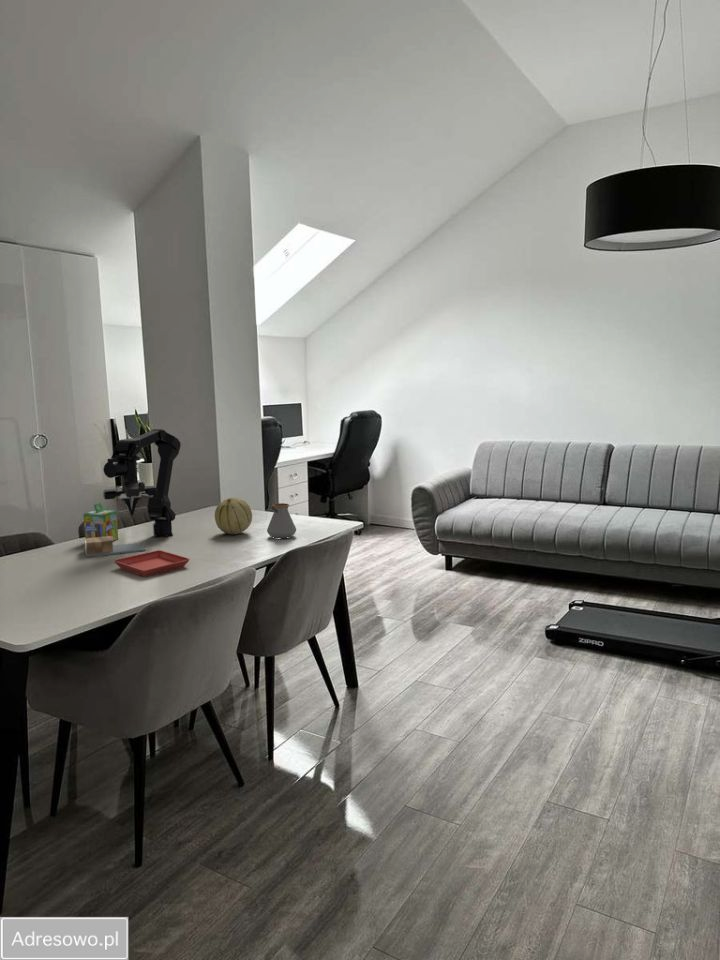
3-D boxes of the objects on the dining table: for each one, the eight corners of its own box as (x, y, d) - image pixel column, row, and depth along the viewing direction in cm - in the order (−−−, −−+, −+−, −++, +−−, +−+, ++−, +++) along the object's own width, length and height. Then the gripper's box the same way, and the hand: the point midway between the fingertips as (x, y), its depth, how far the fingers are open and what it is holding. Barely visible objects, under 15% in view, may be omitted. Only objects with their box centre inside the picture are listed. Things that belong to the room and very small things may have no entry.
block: (110, 536, 261) (84, 538, 258) (112, 540, 254) (85, 543, 250) (111, 546, 262) (84, 549, 258) (113, 551, 255) (86, 554, 251)
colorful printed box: (106, 544, 267) (104, 506, 265) (84, 543, 269) (81, 505, 267) (119, 539, 276) (117, 501, 274) (98, 538, 278) (95, 501, 276)
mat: (141, 543, 268) (140, 542, 268) (145, 551, 257) (145, 549, 257) (84, 549, 260) (84, 548, 260) (86, 557, 249) (86, 555, 249)
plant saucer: (191, 567, 236) (191, 558, 236) (143, 580, 223) (143, 569, 222) (159, 558, 248) (159, 549, 247) (112, 570, 234) (112, 560, 234)
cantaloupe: (254, 529, 291) (253, 493, 289) (250, 537, 277) (249, 499, 274) (218, 530, 291) (217, 493, 288) (212, 538, 276) (210, 500, 274)
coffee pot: (270, 533, 284) (269, 496, 282) (299, 533, 283) (298, 496, 280) (257, 546, 263) (256, 506, 261) (288, 547, 262) (287, 507, 259)
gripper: (104, 478, 250) (107, 522, 252) (158, 474, 258) (161, 517, 260) (101, 474, 260) (104, 516, 262) (153, 471, 268) (156, 511, 270)
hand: (131, 515), depth 264 cm, fingers closed
